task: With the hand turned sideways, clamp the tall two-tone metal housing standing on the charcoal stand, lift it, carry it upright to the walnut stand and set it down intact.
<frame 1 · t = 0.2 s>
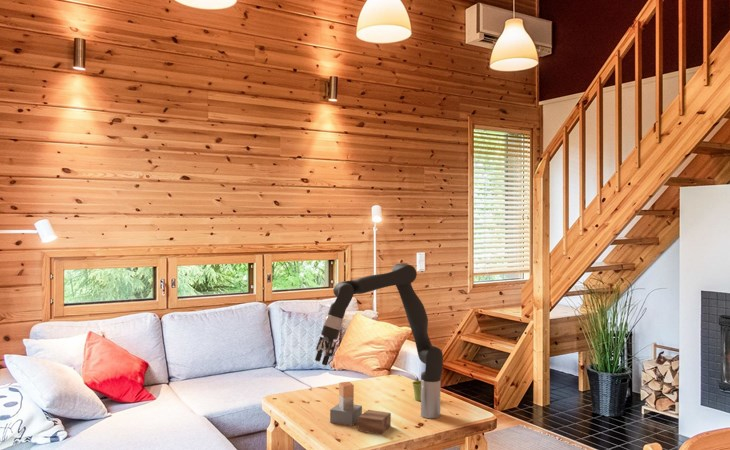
hand: (320, 362, 258), 31 cm above the table, tool tilted 20°, fingers open, 8 cm apart
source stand: (346, 420, 276), on the table
plant pot: (421, 400, 308), on the table
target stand: (374, 428, 266), on the table
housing: (346, 407, 276), point 6 cm above the table, touching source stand
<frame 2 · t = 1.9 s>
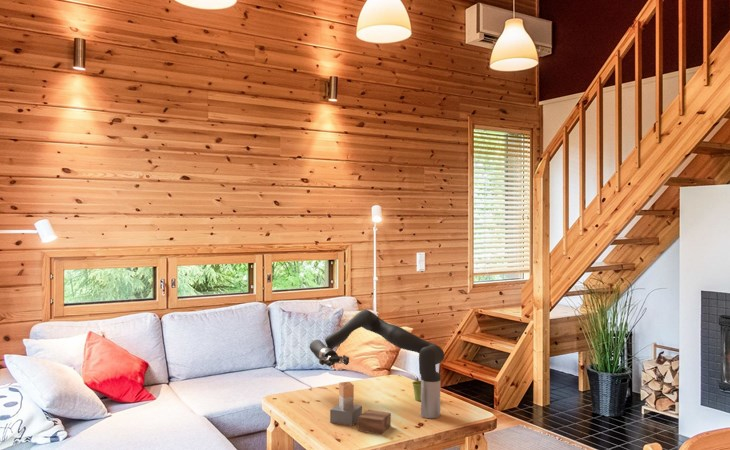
hand: (338, 363, 286), 24 cm above the table, tool horizontal, fingers open, 8 cm apart
nothing on the table moved.
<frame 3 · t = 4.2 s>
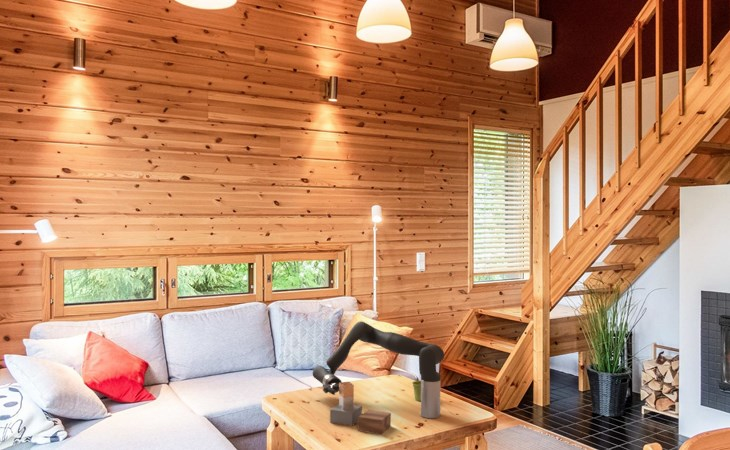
hand: (342, 391, 280), 12 cm above the table, tool horizontal, fingers open, 8 cm apart
nothing on the table moved.
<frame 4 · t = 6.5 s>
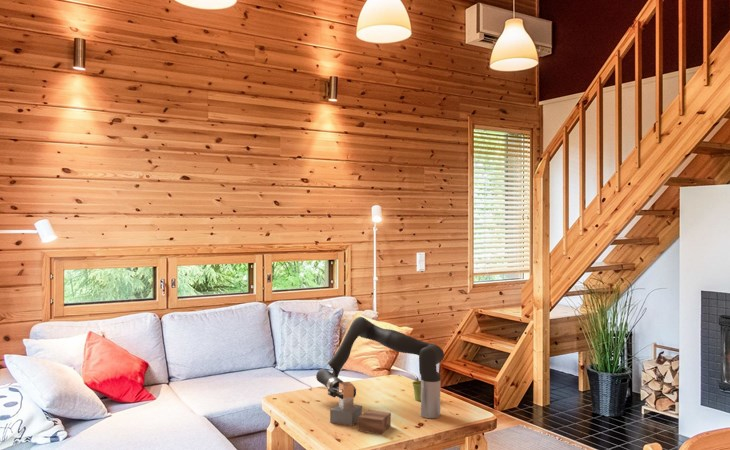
hand: (348, 396, 273), 12 cm above the table, tool horizontal, fingers closed on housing, 5 cm apart
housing: (346, 407, 276), point 6 cm above the table, touching gripper, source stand
everything else where it was.
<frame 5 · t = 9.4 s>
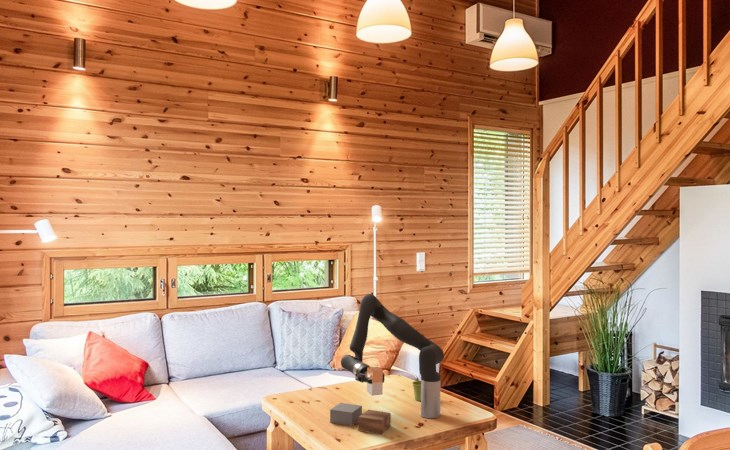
hand: (377, 381, 263), 22 cm above the table, tool horizontal, fingers closed on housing, 5 cm apart
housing: (374, 393, 265), point 16 cm above the table, touching gripper
everything else where it was.
when the fingers open (13 cm above the table, at t = 12.2 s): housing drops 1 cm, resting on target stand.
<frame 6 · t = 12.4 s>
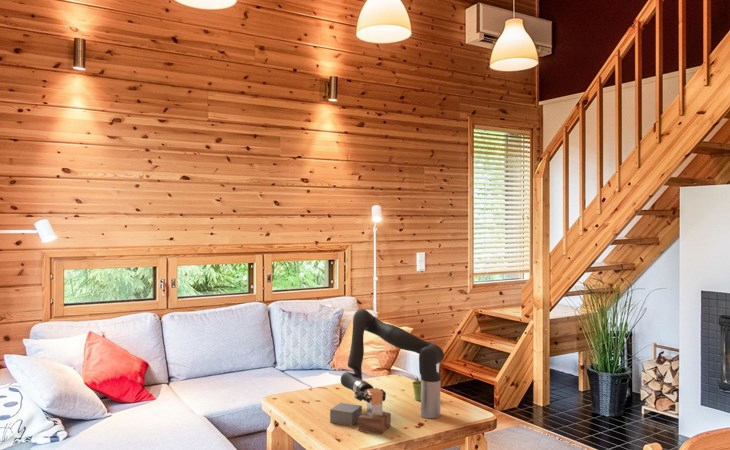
hand: (376, 399, 263), 14 cm above the table, tool horizontal, fingers open, 6 cm apart
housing: (374, 414, 265), point 6 cm above the table, touching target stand
everything else where it was.
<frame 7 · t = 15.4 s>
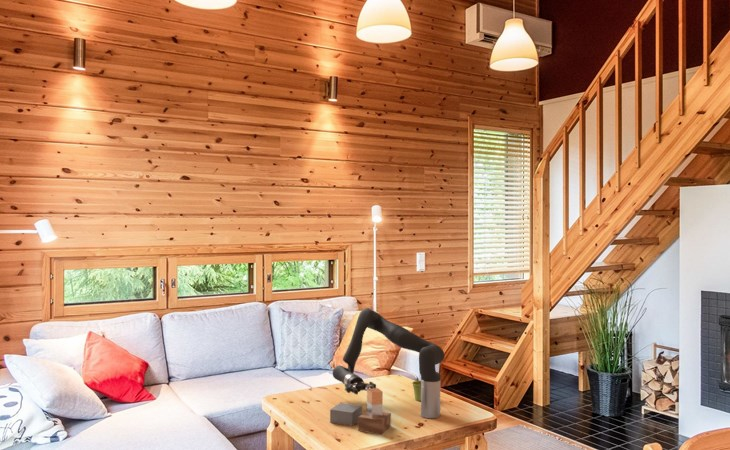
hand: (365, 391, 276), 13 cm above the table, tool horizontal, fingers open, 8 cm apart
nothing on the table moved.
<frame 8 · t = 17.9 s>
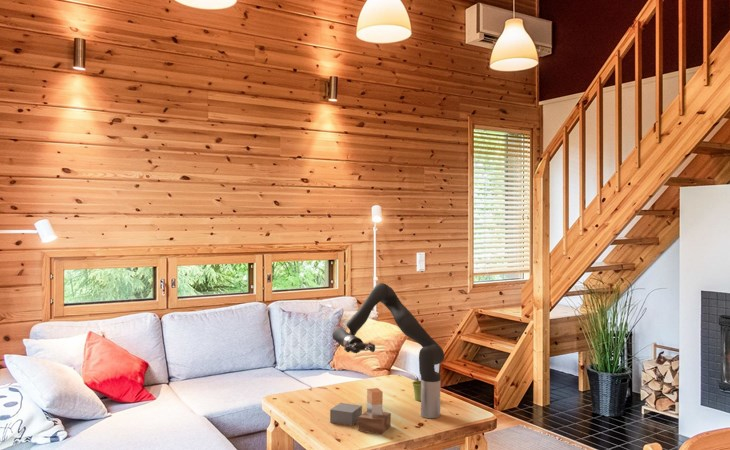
hand: (365, 350, 278), 32 cm above the table, tool horizontal, fingers open, 8 cm apart
nothing on the table moved.
at the end: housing inside the target area on the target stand (0.0 cm from its centre), point 6.0 cm above the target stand's base; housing tilted 0°; the gripper is holding nothing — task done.
